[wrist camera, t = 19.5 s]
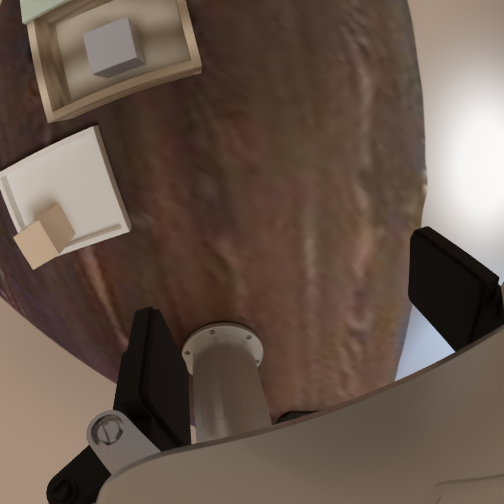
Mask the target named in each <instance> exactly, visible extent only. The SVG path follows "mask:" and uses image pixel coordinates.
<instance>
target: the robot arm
mask: <svg viewBox="0 0 504 504" xmlns="http://www.w3.org/2000/svg"><path fill="white" fill-rule="evenodd" d="M498 281H499V277H498V276H497V275H496V274H495V273H493V272H492V271H490V270H489V269H488V268H487V267H485V266H484V265H483V264H481V263H480V262H479V261H477V260H476V259H475V258H473V257H472V256H471V255H469V254H468V253H466V252H465V251H464V250H462V249H461V248H459V247H458V246H457V245H455V244H454V243H452V242H451V241H449V240H448V239H447V238H445V237H444V236H442V235H441V234H439V233H437V232H436V231H435V230H433V229H432V228H430V227H428V226H427V227H423V228H420V229H417V230H415V231H414V232H413V235H412V236H411V238H410V267H409V286H408V296H409V299H410V301H411V303H412V304H413V305H414V306H415V307H416V308H417V309H418V310H419V311H420V312H421V313H422V314H423V316H424V317H425V318H426V319H427V320H428V321H429V322H430V323H431V324H432V326H433V327H434V328H435V329H436V330H437V331H438V332H439V333H440V335H441V336H442V337H443V338H444V339H445V340H446V341H447V342H448V344H449V345H450V346H451V347H452V348H453V350H454V351H455V353H453V354H451V355H449V356H447V357H445V358H444V359H442V360H440V361H438V362H436V363H434V364H432V365H430V366H428V367H426V368H423V369H421V370H419V371H417V372H415V373H413V374H411V375H409V376H407V377H404V378H402V379H400V380H398V381H395V382H393V383H391V384H389V385H386V386H384V387H381V388H379V389H377V390H374V391H372V392H369V393H367V394H364V395H362V396H359V397H357V398H354V399H351V400H349V401H346V402H343V403H341V404H338V405H335V406H332V407H329V408H326V409H324V410H321V411H318V412H315V413H312V414H309V415H305V416H302V417H299V418H296V419H293V420H289V421H286V422H282V423H279V424H275V425H272V422H271V418H270V414H269V411H268V407H267V403H266V399H265V395H264V391H263V387H262V384H261V380H260V376H259V372H258V366H259V365H260V363H261V361H262V358H263V346H262V343H261V340H260V339H259V337H258V335H257V334H256V333H255V332H254V331H252V330H251V329H249V328H247V327H245V326H243V325H240V324H235V323H226V322H224V323H214V324H210V325H207V326H204V327H202V328H200V329H198V330H196V331H195V332H193V333H192V334H191V335H190V336H189V337H188V338H187V340H186V341H185V343H184V345H183V348H182V355H181V353H180V351H179V349H178V347H177V345H176V343H175V341H174V339H173V337H172V335H171V333H170V331H169V329H168V327H167V325H166V323H165V321H164V319H163V317H162V315H161V313H160V311H159V310H158V309H157V310H154V309H153V308H152V307H148V308H144V309H140V310H137V311H136V312H135V316H134V320H133V325H132V330H131V335H130V340H129V345H128V350H127V351H125V352H124V353H123V356H122V360H121V365H120V371H119V376H118V382H117V387H116V394H115V399H114V406H113V410H110V411H105V412H103V413H101V414H99V415H97V416H96V417H95V418H94V419H93V420H92V421H91V423H90V424H89V426H88V429H87V433H86V435H87V441H88V443H89V445H88V446H87V448H85V449H84V450H83V451H82V452H81V453H80V454H79V455H78V456H77V457H75V458H74V459H73V460H72V461H71V462H70V463H69V464H68V465H66V466H65V467H64V468H63V469H62V470H61V471H60V472H59V473H57V474H56V475H55V476H54V477H53V478H52V479H51V481H50V482H49V484H48V486H47V492H46V495H47V500H48V502H49V503H48V504H504V282H503V284H502V286H500V285H499V284H498ZM188 372H189V373H190V374H191V375H193V392H194V410H195V426H196V439H197V443H196V444H192V445H191V432H190V431H191V430H190V411H189V387H188Z"/></svg>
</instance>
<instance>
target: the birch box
mask: <svg viewBox="0 0 504 504" xmlns="http://www.w3.org/2000/svg"><path fill="white" fill-rule="evenodd" d="M125 17H128V18H129V19H130V21H131V22H132V23H133V24H134V25H135V27H136V28H137V29H138V32H139V36H140V40H141V44H142V48H143V53H144V57H145V61H146V65H144V66H141V67H138V68H135V69H133V70H130V71H127V72H124V73H121V74H119V75H116V76H114V77H111V78H104V77H100V76H96V75H92V73H91V69H90V65H89V60H88V56H87V51H86V47H85V42H84V37H83V34H85V33H87V32H89V31H92V30H94V29H96V28H99V27H101V26H104V25H106V24H109V23H111V22H114V21H117V20H119V19H122V18H125ZM27 27H28V34H29V40H30V46H31V52H32V57H33V62H34V67H35V72H36V77H37V81H38V86H39V90H40V94H41V98H42V102H43V106H44V110H45V114H46V117H47V121H48V123H50V122H55V121H61V120H66V119H72V118H75V117H77V116H79V115H81V114H84V113H86V112H88V111H91V110H93V109H96V108H98V107H100V106H103V105H105V104H108V103H110V102H113V101H116V100H118V99H121V98H124V97H126V96H129V95H132V94H135V93H138V92H140V91H143V90H146V89H149V88H152V87H155V86H159V85H162V84H165V83H168V82H172V81H175V80H178V79H182V78H185V77H189V76H193V75H196V74H200V73H201V71H202V63H201V59H200V55H199V52H198V48H197V44H196V40H195V36H194V32H193V28H192V24H191V20H190V16H189V12H188V8H187V4H186V1H185V0H71V1H69V2H67V3H65V4H63V5H61V6H59V7H57V8H55V9H53V10H51V11H49V12H47V13H45V14H43V15H41V16H40V17H38V18H36V19H34V20H33V21H31V22H29V23H27Z"/></svg>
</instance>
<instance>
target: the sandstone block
mask: <svg viewBox="0 0 504 504" xmlns="http://www.w3.org/2000/svg"><path fill="white" fill-rule="evenodd" d="M75 234H76V233H75V231H74V229H73V228H72V226H71V224H70V222H69V221H68V219H67V217H66V215H65V214H64V212H63V210H62V208H61V206H60V204H59V203H58V204H56V205H55V206H53V207H51V208H50V209H48V210H47V211H45V212H44V213H42V214H41V215H39V216H38V217H36V218H35V219H33V220H32V221H31V222H30V223H29V224H28V225H26V226H25V227H24V228H23V229H22V230H21V231H20V232H19V233H18V234H17V235H15V236H14V237H13V238H14V240H15V241H16V243H17V245H18V246H19V248H20V250H21V251H22V253H23V254H24V256H25V258H26V259H27V261H28V262H29V264H30V266H31V267H32V269H33V270H34V269H35V268H37V267H39V266H41V265H42V264H44V263H46V262H47V261H49V260H51V259H53V258H54V257H56V256H58V255H59V254H60V253H61V252H62V251H63V249H64V248H65V247H66V245H67V244H68V243H69V241H70V240H71V239H72V238H73V236H74V235H75Z"/></svg>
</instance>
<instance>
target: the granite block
mask: <svg viewBox="0 0 504 504" xmlns="http://www.w3.org/2000/svg"><path fill="white" fill-rule="evenodd" d="M83 37H84V42H85V47H86V51H87V56H88V60H89V65H90V69H91V73H92V75H96V76H100V77H104V78H111V77H114V76H116V75H119V74H121V73H124V72H127V71H130V70H133V69H135V68H138V67H141V66H144V65H146V61H145V57H144V53H143V48H142V44H141V40H140V36H139V32H138V29H137V28H136V27H135V25H134V24H133V23H132V22H131V21H130V19H129V18H128V17H125V18H122V19H119V20H117V21H114V22H111V23H109V24H106V25H104V26H101V27H99V28H96V29H94V30H92V31H89V32H87V33H85V34H83Z"/></svg>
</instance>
